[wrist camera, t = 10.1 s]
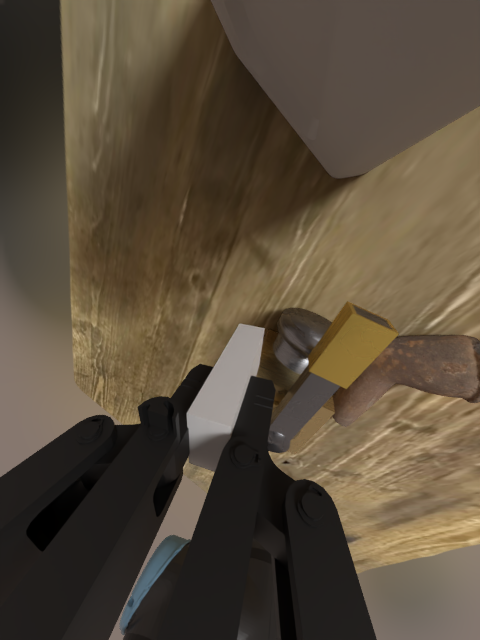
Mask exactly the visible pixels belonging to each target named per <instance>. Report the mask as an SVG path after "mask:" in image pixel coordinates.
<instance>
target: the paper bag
mask: <svg viewBox="0 0 480 640" xmlns="http://www.w3.org/2000/svg"><path fill="white" fill-rule="evenodd" d="M211 2H212V4H213V6H214V9H215V11H216V13H217V15H218V17H219V20H220V22H221V24H222V26H223V28H224V31H225V33H226V35H227V37H228V40H229V42H230V44H231V46H232V48H233V50H234V52H235V54H236V55H237V57H238V58H239V59H240V60H241V62H242V63H243V64H244V66H245V67H246V68H247V69H248V71H249V72H250V73H251V75H252V76H253V77H254V78H255V80H256V81H257V82H258V84H259V85H260V86H261V87H262V89H263V90H264V91H265V93H266V94H267V95H268V97H269V98H270V99H271V100H272V102H273V103H274V104H275V106H276V107H277V108H278V109H279V111H280V112H281V113H282V115H283V116H284V117H285V118H286V120H287V121H288V122H289V124H290V125H291V126H292V127H293V129H294V130H295V131H296V133H297V134H298V135H299V136H300V138H301V139H302V140H303V142H304V143H305V144H306V145H307V147H308V148H309V149H310V151H311V152H312V153H313V154H314V156H315V157H316V158H317V160H318V161H319V162H320V164H321V165H322V166H323V167H324V169H325V170H326V171H327V173H328V174H329V175H331V176H332V177H334V178H346V177H352V176H358V175H362V174H365V173H367V172H368V171H370V170H372V169H374V168H375V167H377V166H379V165H380V164H382V163H384V162H385V161H387V160H389V159H391V158H392V157H394V156H396V155H397V154H399V153H401V152H402V151H404V150H406V149H408V148H409V147H411V146H413V145H414V144H416V143H418V142H419V141H421V140H423V139H424V138H426V137H428V136H430V135H431V134H433V133H435V132H436V131H438V130H440V129H441V128H443V127H445V126H447V125H448V124H450V123H452V122H453V121H455V120H457V119H458V118H460V117H462V116H463V115H465V114H467V113H469V112H470V111H472V110H474V109H475V108H477V107H479V106H480V0H211Z"/></svg>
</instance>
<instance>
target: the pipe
mask: <svg viewBox="0 0 480 640" xmlns="http://www.w3.org/2000/svg"><path fill="white" fill-rule="evenodd" d="M396 383H398V384H403V385H406V386H409V387H412V388H416V389H418V390H421V391H424V392H428V393H432V394H436V395H441V396H448V397H457V398H463V399H465V400H467V401H468V402H470V403H478V402H480V341H479V340H478V339H477V338H474V337H470V336H466V335H441V336H435V335H433V336H403V337H396V338H395V339H394V340H393V341H392V342H391V343H390V344H389V345H388V346H387V347H386V348H385V349H384V350H383V351H382V352H381V353H380V355H379V356H378V357H377V358H376V359H375V360H374V361H373V362H372V363H371V364H370V365H369V366H368V367H367V368H366V369H365V370H364V371H363V372H362V373H361V374H360V375H359V376H358V378H357V379H356V380H355V381H354V382H353V383H352V384H351V385H350V386H349V387H348V388H347V389H345V388H343V387H340V388H339V389H338V391H337V393H336V394H335V395H334V397H333V402H334V409H335V413H334V414H333V415H332V417H333V418H334V419H335V421H336V422H337V423H339V424H340V425H342V426H345V427H346V426H349V425H350V424H351V423H353V422H354V421H355V420H356V419H357V418H359V417H360V416H361V415H362V414H363V413H364V412H365V411H367V410H368V409H369V408H370V407H371V406H372V405H373V404H374V403H375V402H377V401H378V400H379V399H380V398H381V397H382V396H383V395H384V394H385V393H386V392H387V391H388V389H389V388H390V387H391V386H393V385H394V384H396Z"/></svg>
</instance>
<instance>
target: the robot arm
mask: <svg viewBox="0 0 480 640" xmlns="http://www.w3.org/2000/svg"><path fill="white" fill-rule="evenodd" d="M264 330H265V328H261V327H256V326H250V325H245V324H239V325H238V327H237V329H236V330H235V332H234V334H233V335H232V337H231V339H230V341H229V342H228V344H227V346H226V347H225V349H224V351H223V352H222V354H221V356H220V358H219V359H218V361H217V363H216V364H215V366H214V367H211V366H207V365H203V364H199V365H198V366H196V367H195V368H193V369H192V370H191V371H190V372H189V373H188V375H187V376H186V378H185V379H184V380H183V382H182V383H181V385H180V386H179V387H178V389H177V390H176V391H175V393H174V394H173V396H172V397H171V398H169V397H162V396H160V397H154V398H151V399H149V400H147V401H145V402H143V403H142V404H141V405H140V406H139V407H138V411H139V416H140V421H141V424H135V425H114V422H113V420H112V419H111V418H110V417H108V416H106V415H96V416H92V417H89V418H86V419H85V420H83V421H81V422H79V423H77V424H76V425H75V426H73V427H72V428H70V429H69V430H67V431H66V432H65V433H63V434H62V435H60V436H59V437H57V438H56V439H55V440H53V441H52V442H50V443H49V444H47V445H46V446H45V447H43V448H42V449H40V450H39V451H37V452H36V453H34V454H33V455H32V456H30V457H29V458H28V459H26V460H24V461H23V462H22V463H20V464H19V465H17V466H16V467H15V468H13V469H12V470H10V471H9V472H7V473H6V474H4V475H3V476H2V477H0V640H108V639H109V637H110V635H111V633H112V631H113V629H114V626H115V624H116V622H117V620H118V618H119V616H120V613H121V611H122V609H123V607H124V604H125V602H126V600H127V598H128V596H129V594H130V591H131V589H132V587H133V585H134V583H135V580H136V578H137V576H138V574H139V572H140V569H141V567H142V565H143V563H144V561H145V558H146V556H147V554H148V552H149V550H150V548H151V546H152V543H153V541H154V539H155V537H156V534H157V532H158V530H159V528H160V526H161V523H162V522H163V519H164V517H165V515H166V513H167V511H168V508H169V506H170V504H171V502H172V500H173V497H174V495H175V493H176V491H177V489H178V487H179V484H180V482H181V480H182V476H183V466H184V464H185V462H186V460H187V458H188V456H189V463H191V464H194V465H197V466H200V467H203V468H205V469H208V470H211V471H214V472H215V473H214V476H213V479H212V482H211V485H210V487H209V490H208V493H207V496H206V499H205V502H204V505H203V508H202V511H201V514H200V516H199V519H198V522H197V525H196V528H195V531H194V534H193V537H192V540H190V539H189V540H186V539H184V538H181V537H178V536H176V535H170V536H168V537H166V538H165V539H164V540H163V541H162V542H161V544H160V545H159V546H158V547H157V549H156V550H155V552H154V553H153V555H152V557H151V558H150V560H149V562H148V563H147V565H146V567H145V569H144V570H143V572H142V574H141V576H140V578H139V580H138V582H137V584H136V585H135V588H134V590H133V592H132V596H131V597H130V600H129V601H128V603H127V605H126V607H125V609H124V612H123V614H122V617H121V620H120V630H121V633H122V635H125V636H124V638H123V640H377V639H376V636H375V633H374V629H373V626H372V623H371V620H370V616H369V613H368V610H367V607H366V603H365V600H364V597H363V593H362V590H361V587H360V584H359V580H358V577H357V574H356V570H355V567H354V564H353V560H352V557H351V554H350V551H349V547H348V544H347V541H346V538H345V534H344V531H343V528H342V524H341V521H340V518H339V515H338V511H337V509H336V507H335V504H334V502H333V500H332V498H331V497H330V495H329V494H328V493H327V492H326V491H325V489H324V488H323V487H321V486H320V485H318V484H317V483H315V482H313V481H310V480H306V479H303V480H297V481H295V480H293V479H292V478H290V477H289V476H288V475H286V474H285V473H284V472H282V471H281V470H280V469H279V468H278V467H277V466H276V465H275V464H274V463H273V461H272V460H271V457H270V455H269V452H268V448H267V446H268V436H269V430H270V423H271V417H272V411H273V404H274V398H275V392H276V389H275V386H274V384H273V381H272V380H268V379H264V378H259V377H256V375H257V372H258V368H259V364H260V357H261V350H262V344H263V337H264Z"/></svg>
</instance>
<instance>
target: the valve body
mask: <svg viewBox="0 0 480 640" xmlns="http://www.w3.org/2000/svg"><path fill="white" fill-rule="evenodd" d="M331 324H332V322H330V321H329V320H327V319H325V318H324V317H322V316H320V315H318V314H316V313H313V312H311V311H308V310H305V309H300V308H288V309H285V310H284V311H283V313H282V315H281V317H280V318H279V320H278V323H277V327H278V331H279V333H277V332H275V331H272V330H270V329H268V331H267V333H266V335H265V337H264V339H263V344H262V350H261V357H260V364H259V368H258V372H257V375H256V377H259V378H264V379H268V380H272V381H273V384H274V386H275V389H276V392H275V398H274V404H273V411H272V413H273V412H274V410H275V409H276V407H277V406H278V405H279V403H280V402H281V401H282V399H283V398H284V397H285V395H286V394H287V393H288V391H289V390H290V388H291V387H292V386H293V384H294V383H295V382H296V380H297V379H298V378H299V376H300V375H301V374H302V372H303V371H304V369H305V368H306V367H307V365H308V364H309V359H308V356H309V354H310V353H311V352H312V350H313V349H314V347H315V346H316V345H317V343H318V342H319V340H320V339H321V338H322V336H323V335H324V333H325V332H326V331H327V329H328V328H329V326H330V325H331ZM334 413H335V409H334V402H333V395H332V396H331V397H330V399H329V400H328V401H327V402H326V403H325V404H324V405H323V406H322V407H321V408H320V409H319V410H318V412H317V413H316V414H315V415H314V416H313V417H312V418H311V419H310V420H309V421H308V422H307V423H306V424H305V426H304V427H303V428H302V429H301V430H300V431H299V432H298V433H297V434H296V435H295V436H294V437H293V439H292V440H291V441H290V448H289V449H288V450H287V451H289V452H291V453H293V454H296V453H297V452H298V451H299V450H300V449H301V448H302V447H303V446H304V445H305V443H306V442H307V441H308V440H309V439H310V438H311V437H312V436H313V435H314V434H315V433H316V432H317V431H318V430H319V429H320V428H321V427H322V426H323V425H324V424H325V423H326V422H327V421H328V420H329V419H330V418H331V417H332V415H333V414H334Z"/></svg>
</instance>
